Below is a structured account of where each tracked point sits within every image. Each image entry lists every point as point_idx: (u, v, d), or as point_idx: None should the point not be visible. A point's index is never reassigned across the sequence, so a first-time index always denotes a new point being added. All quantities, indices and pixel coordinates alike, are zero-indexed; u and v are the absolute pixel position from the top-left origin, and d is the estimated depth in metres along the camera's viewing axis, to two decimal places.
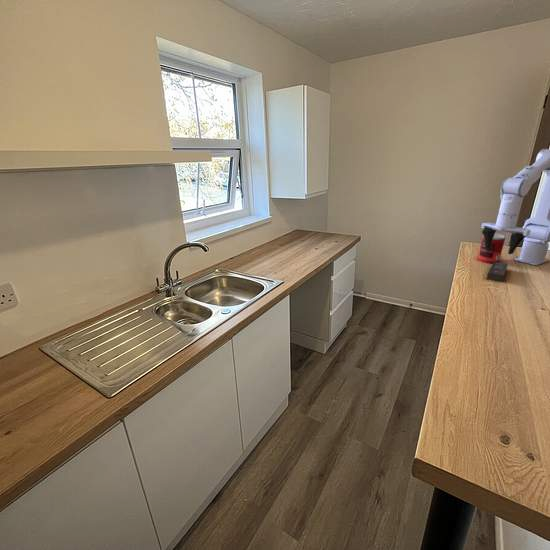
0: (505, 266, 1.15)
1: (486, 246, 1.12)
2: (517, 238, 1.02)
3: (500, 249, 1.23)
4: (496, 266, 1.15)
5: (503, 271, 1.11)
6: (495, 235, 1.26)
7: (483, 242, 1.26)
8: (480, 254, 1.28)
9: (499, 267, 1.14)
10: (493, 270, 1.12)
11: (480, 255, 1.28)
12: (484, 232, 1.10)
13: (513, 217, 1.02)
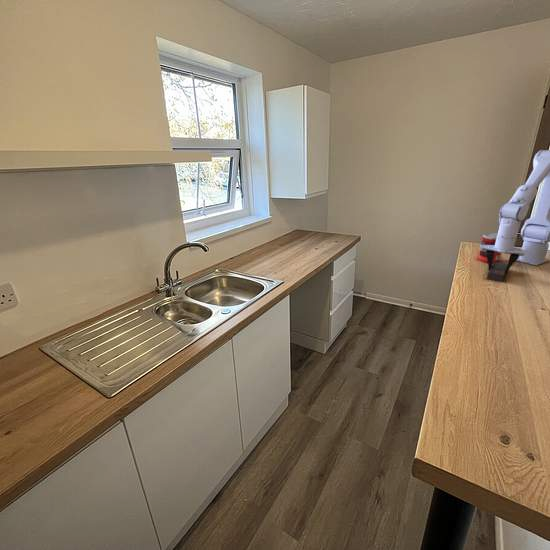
0: (505, 266, 1.15)
1: (489, 268, 1.15)
2: (515, 259, 1.08)
3: None
4: (496, 266, 1.15)
5: (503, 271, 1.11)
6: (495, 235, 1.26)
7: (483, 242, 1.26)
8: (480, 254, 1.28)
9: (499, 267, 1.14)
10: (493, 270, 1.12)
11: (480, 255, 1.28)
12: (488, 255, 1.13)
13: (514, 240, 1.07)
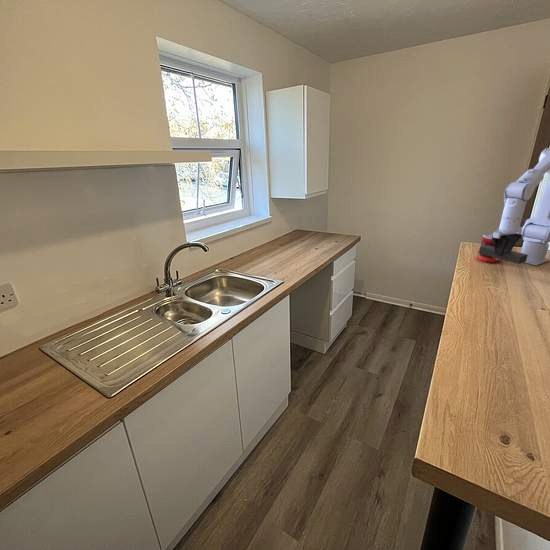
0: None
1: (502, 253, 1.09)
2: (521, 236, 1.09)
3: None
4: None
5: (514, 251, 1.10)
6: None
7: (483, 242, 1.26)
8: (480, 254, 1.28)
9: None
10: (512, 253, 1.08)
11: (480, 255, 1.28)
12: (508, 240, 1.06)
13: None
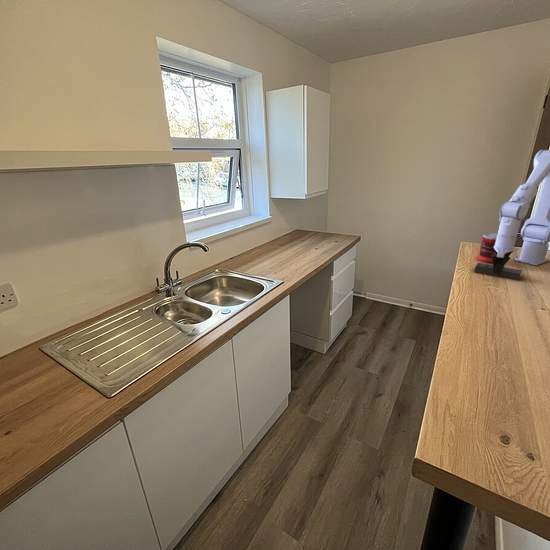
0: None
1: None
2: None
3: None
4: None
5: (507, 268, 1.14)
6: (495, 235, 1.26)
7: (483, 242, 1.26)
8: (480, 254, 1.28)
9: None
10: (509, 270, 1.11)
11: (480, 255, 1.28)
12: None
13: None
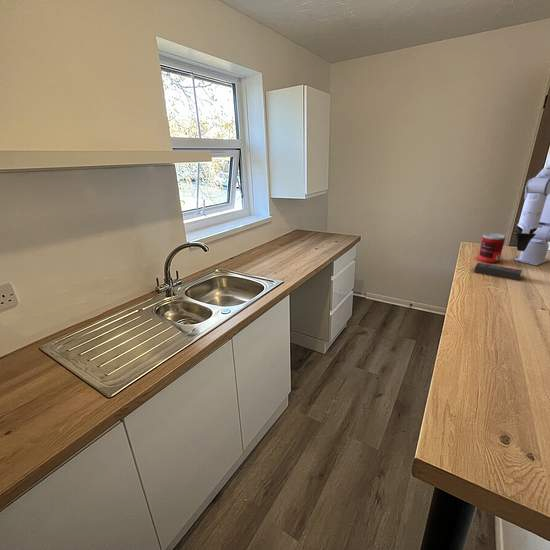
0: None
1: (525, 248, 1.10)
2: None
3: (500, 249, 1.23)
4: (494, 267, 1.14)
5: (507, 268, 1.14)
6: (495, 235, 1.26)
7: (483, 242, 1.26)
8: (480, 254, 1.28)
9: (496, 267, 1.15)
10: (509, 270, 1.11)
11: (480, 255, 1.28)
12: (534, 235, 1.06)
13: None
